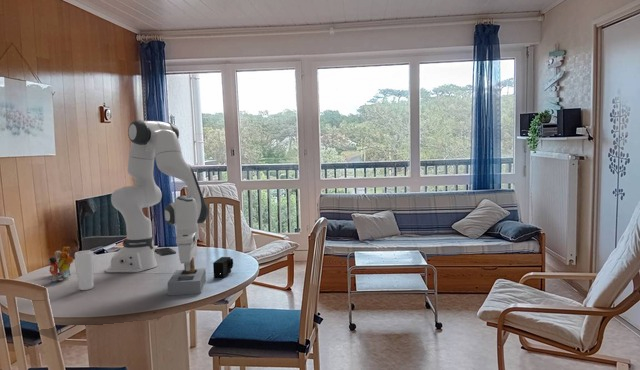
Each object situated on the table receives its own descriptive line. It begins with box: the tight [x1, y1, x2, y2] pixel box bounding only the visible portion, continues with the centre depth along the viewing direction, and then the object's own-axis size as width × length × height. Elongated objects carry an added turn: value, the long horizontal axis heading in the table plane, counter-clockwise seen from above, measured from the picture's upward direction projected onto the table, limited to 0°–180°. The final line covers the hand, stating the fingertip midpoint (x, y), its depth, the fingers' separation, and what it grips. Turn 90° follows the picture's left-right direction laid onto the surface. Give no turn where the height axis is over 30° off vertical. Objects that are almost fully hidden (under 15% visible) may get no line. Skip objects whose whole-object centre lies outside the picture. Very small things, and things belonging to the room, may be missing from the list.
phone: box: [154, 247, 177, 257], centre depth 243 cm, size 8×1×15 cm
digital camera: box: [212, 256, 234, 279], centre depth 196 cm, size 10×5×7 cm, turn 172°
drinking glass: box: [74, 249, 95, 291], centre depth 180 cm, size 7×7×15 cm
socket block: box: [167, 267, 207, 296], centre depth 179 cm, size 12×18×5 cm, turn 8°
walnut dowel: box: [183, 256, 196, 274], centre depth 183 cm, size 4×4×8 cm
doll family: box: [48, 246, 75, 285], centre depth 197 cm, size 21×10×13 cm, turn 22°
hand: (189, 268), depth 183 cm, fingers closed on walnut dowel, 4 cm apart
